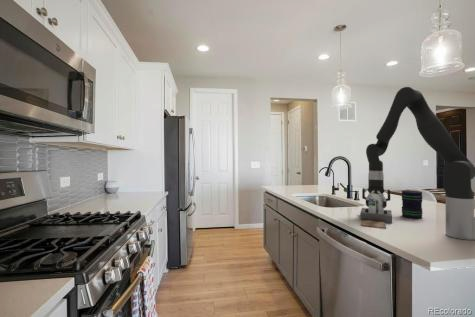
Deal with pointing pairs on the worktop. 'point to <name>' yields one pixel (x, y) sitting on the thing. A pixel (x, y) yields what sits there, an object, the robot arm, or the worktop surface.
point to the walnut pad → (373, 224)
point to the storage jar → (412, 204)
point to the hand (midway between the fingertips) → (376, 207)
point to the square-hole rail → (376, 216)
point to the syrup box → (376, 204)
